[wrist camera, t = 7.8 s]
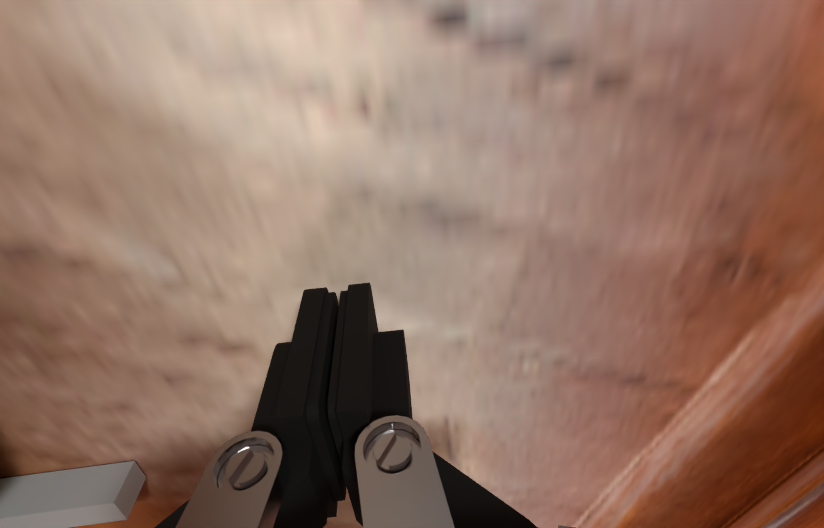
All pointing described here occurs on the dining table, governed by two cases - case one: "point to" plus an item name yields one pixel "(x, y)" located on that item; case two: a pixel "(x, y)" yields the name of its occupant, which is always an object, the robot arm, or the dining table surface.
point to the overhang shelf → (70, 496)
